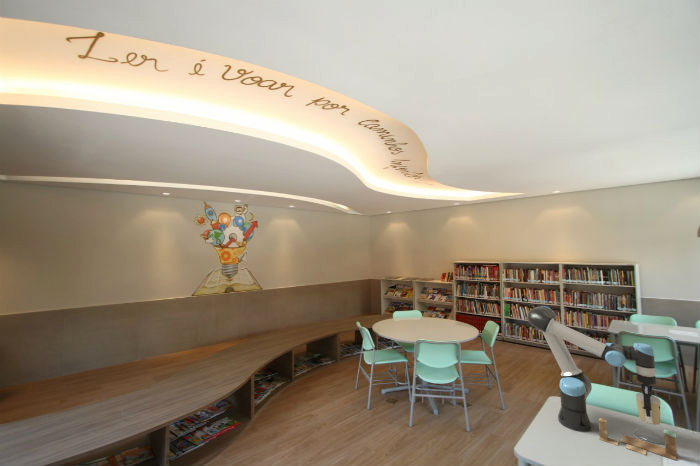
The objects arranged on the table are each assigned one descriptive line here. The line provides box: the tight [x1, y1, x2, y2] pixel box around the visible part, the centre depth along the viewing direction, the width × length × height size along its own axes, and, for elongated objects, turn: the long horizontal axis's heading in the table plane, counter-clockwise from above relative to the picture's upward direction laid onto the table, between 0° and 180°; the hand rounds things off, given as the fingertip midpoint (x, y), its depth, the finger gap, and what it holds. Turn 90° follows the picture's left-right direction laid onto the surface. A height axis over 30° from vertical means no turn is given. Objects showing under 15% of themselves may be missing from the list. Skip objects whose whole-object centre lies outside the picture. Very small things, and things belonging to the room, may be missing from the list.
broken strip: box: [598, 417, 647, 456], centre depth 150 cm, size 17×4×10 cm, turn 44°
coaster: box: [634, 428, 665, 445], centre depth 157 cm, size 12×12×1 cm
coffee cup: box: [635, 392, 661, 426], centre depth 157 cm, size 9×9×12 cm
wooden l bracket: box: [620, 428, 678, 461], centre depth 148 cm, size 19×8×10 cm, turn 44°
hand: (649, 418), depth 157 cm, fingers closed on coffee cup, 9 cm apart
